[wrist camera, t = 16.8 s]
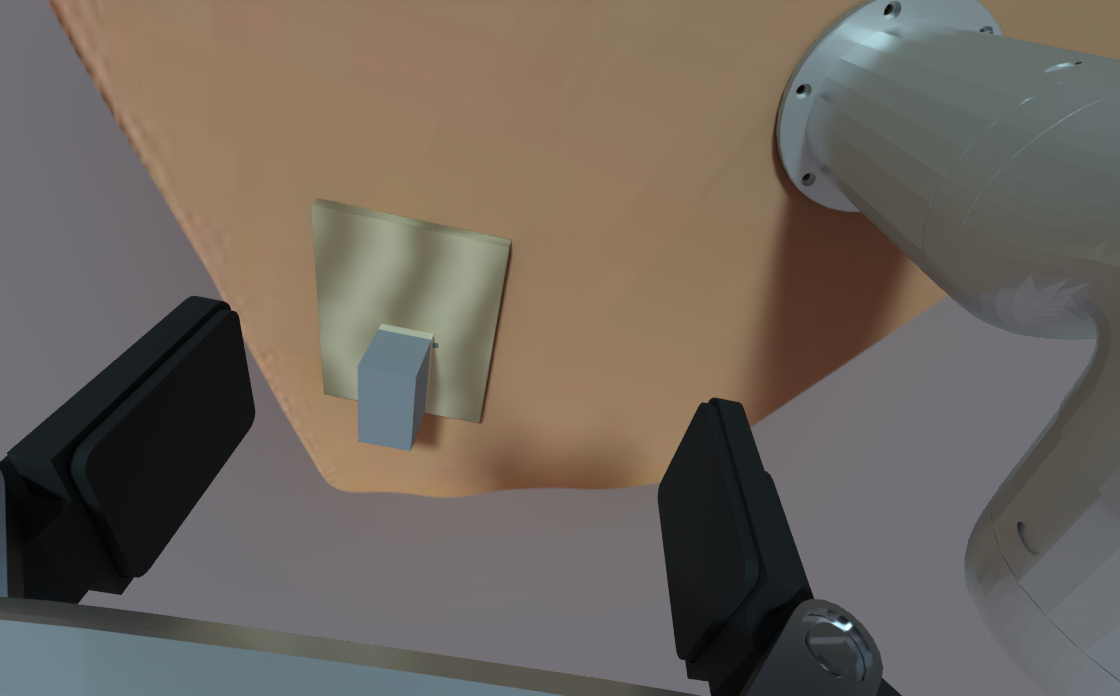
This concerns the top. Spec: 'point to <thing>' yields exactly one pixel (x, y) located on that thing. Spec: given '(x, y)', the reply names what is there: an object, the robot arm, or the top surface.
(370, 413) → the block
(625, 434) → the top surface
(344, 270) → the board
